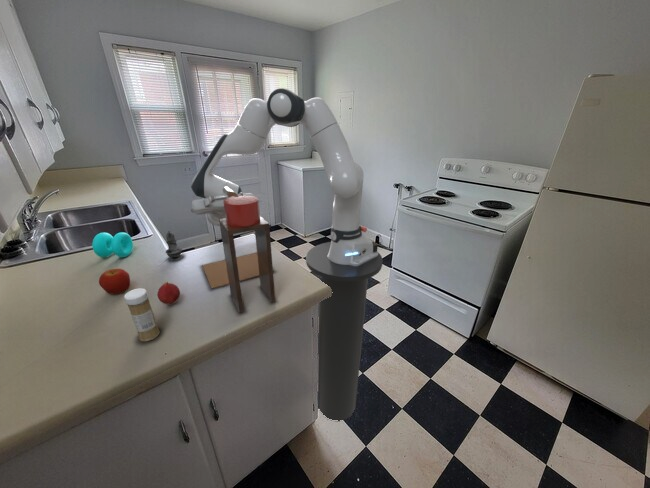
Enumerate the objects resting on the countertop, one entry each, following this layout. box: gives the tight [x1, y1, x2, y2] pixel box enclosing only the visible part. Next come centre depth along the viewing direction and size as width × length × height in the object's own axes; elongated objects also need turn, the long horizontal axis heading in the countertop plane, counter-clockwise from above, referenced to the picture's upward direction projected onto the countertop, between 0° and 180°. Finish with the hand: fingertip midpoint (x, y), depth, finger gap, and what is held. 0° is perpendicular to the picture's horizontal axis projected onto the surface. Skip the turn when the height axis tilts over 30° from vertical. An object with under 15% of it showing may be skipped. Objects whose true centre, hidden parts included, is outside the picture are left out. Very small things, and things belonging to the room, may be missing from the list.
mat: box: [201, 252, 275, 290], centre depth 101 cm, size 22×18×1 cm
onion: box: [156, 281, 181, 306], centre depth 80 cm, size 6×6×8 cm
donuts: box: [91, 231, 134, 258], centre depth 107 cm, size 10×10×10 cm
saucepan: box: [223, 186, 261, 227], centre depth 78 cm, size 9×22×6 cm, turn 32°
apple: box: [98, 268, 131, 295], centre depth 86 cm, size 8×8×8 cm
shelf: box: [219, 215, 276, 314], centre depth 80 cm, size 11×10×26 cm
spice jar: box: [123, 287, 161, 342], centre depth 67 cm, size 5×5×13 cm
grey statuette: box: [165, 230, 184, 262], centre depth 106 cm, size 6×6×12 cm
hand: (227, 196), depth 85 cm, fingers open, 8 cm apart
